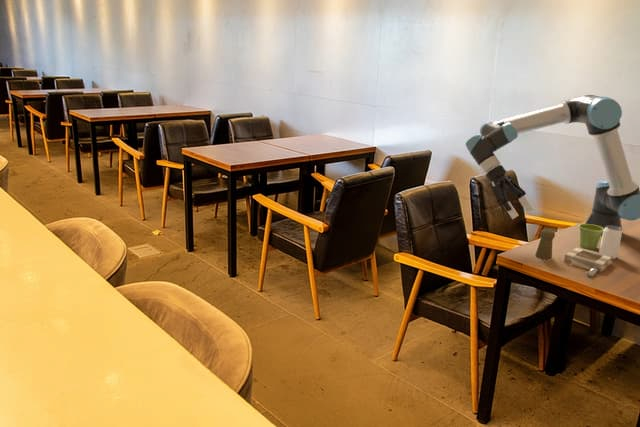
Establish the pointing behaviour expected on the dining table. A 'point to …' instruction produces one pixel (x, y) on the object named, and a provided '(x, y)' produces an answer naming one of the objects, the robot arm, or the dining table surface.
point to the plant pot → (590, 235)
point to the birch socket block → (588, 259)
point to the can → (610, 241)
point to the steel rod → (592, 271)
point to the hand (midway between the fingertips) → (523, 214)
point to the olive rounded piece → (545, 244)
